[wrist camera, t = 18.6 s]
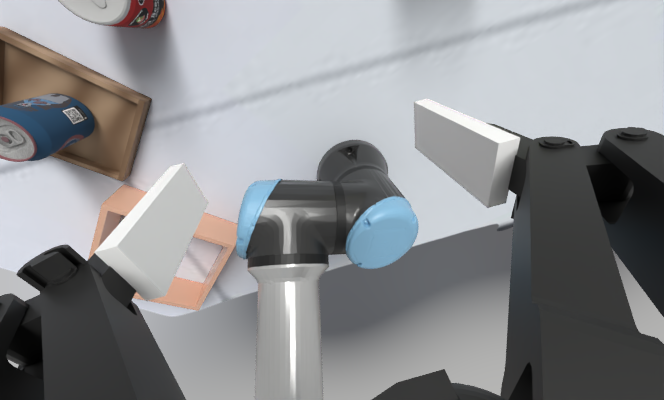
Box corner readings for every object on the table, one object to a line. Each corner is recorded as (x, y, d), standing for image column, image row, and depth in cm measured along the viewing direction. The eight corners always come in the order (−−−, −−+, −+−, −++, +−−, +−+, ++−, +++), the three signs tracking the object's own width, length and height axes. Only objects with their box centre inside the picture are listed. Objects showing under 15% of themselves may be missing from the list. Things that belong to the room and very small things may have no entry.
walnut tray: (151, 98, 42) (144, 102, 40) (129, 175, 48) (122, 181, 46) (4, 26, 34) (-14, 26, 32) (0, 127, 40) (-15, 132, 38)
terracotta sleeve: (240, 225, 58) (235, 245, 52) (205, 286, 67) (198, 310, 61) (123, 184, 48) (101, 204, 43) (101, 262, 57) (81, 287, 51)
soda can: (70, 141, 42) (4, 172, 32) (33, 99, 38) (-56, 120, 28) (109, 129, 42) (55, 157, 32) (76, 85, 38) (3, 102, 28)
